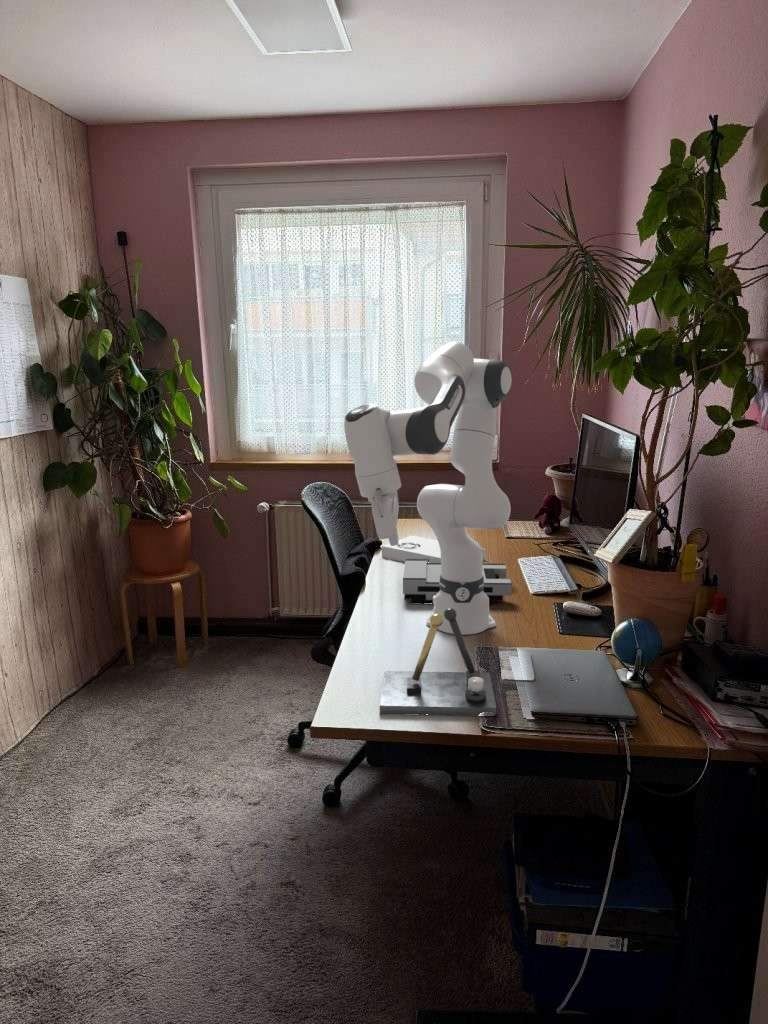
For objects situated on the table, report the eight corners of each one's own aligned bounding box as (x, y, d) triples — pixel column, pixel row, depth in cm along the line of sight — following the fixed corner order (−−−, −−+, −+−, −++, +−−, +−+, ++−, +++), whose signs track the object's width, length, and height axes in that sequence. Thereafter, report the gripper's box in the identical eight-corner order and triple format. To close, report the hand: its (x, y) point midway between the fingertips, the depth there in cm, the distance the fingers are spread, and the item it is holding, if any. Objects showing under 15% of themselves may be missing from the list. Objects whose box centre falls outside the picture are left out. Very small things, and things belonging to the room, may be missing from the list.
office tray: (511, 607, 204) (512, 580, 202) (403, 605, 207) (402, 579, 205) (504, 584, 224) (505, 560, 223) (405, 583, 227) (405, 559, 225)
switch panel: (384, 679, 159) (384, 666, 158) (489, 681, 158) (489, 668, 157) (379, 714, 144) (379, 700, 143) (496, 716, 142) (496, 702, 141)
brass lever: (409, 674, 151) (432, 610, 148) (421, 677, 151) (444, 614, 148) (409, 679, 149) (432, 614, 145) (421, 683, 149) (444, 618, 145)
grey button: (467, 684, 147) (467, 676, 147) (482, 684, 147) (482, 676, 146) (468, 691, 144) (468, 683, 143) (483, 691, 144) (484, 683, 143)
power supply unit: (457, 575, 235) (457, 561, 234) (381, 559, 255) (381, 545, 254) (485, 562, 249) (485, 549, 248) (411, 547, 269) (411, 535, 268)
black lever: (465, 670, 155) (441, 608, 152) (477, 667, 154) (453, 604, 151) (466, 676, 152) (442, 613, 149) (478, 672, 152) (454, 608, 149)
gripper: (392, 493, 134) (408, 558, 138) (395, 467, 154) (409, 525, 158) (360, 500, 135) (377, 564, 139) (368, 474, 155) (383, 530, 159)
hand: (394, 543), depth 149 cm, fingers closed
